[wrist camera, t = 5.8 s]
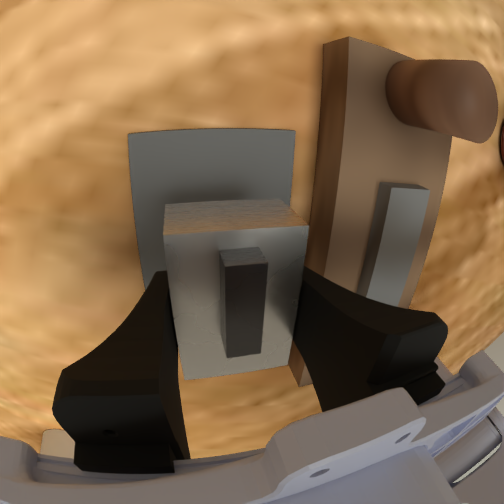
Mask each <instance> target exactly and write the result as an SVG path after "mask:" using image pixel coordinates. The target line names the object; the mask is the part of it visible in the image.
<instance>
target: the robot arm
mask: <svg viewBox="0 0 504 504" xmlns="http://www.w3.org/2000/svg"><path fill="white" fill-rule="evenodd" d="M447 334H448V326H447V325H446V324H445V322H444V321H443V320H442V319H441V318H440V317H439V316H438V315H437V314H435V313H434V312H425V311H418V310H411V309H406V308H401V307H396V306H392V305H388V304H385V303H382V302H379V301H375V300H372V299H369V298H367V297H364V296H362V295H359V294H357V293H354V292H352V291H350V290H348V289H346V288H344V287H342V286H340V285H338V284H336V283H334V282H332V281H330V280H328V279H326V278H325V277H323V276H321V275H319V274H318V273H316V272H314V271H313V270H311V269H309V268H307V267H306V266H304V268H303V275H302V282H301V289H300V295H299V302H298V308H297V314H296V320H295V326H294V332H293V338H292V339H293V341H294V343H295V345H296V347H297V349H298V350H299V352H300V354H301V356H302V358H303V360H304V362H305V364H306V367H307V369H308V372H309V375H310V377H311V380H312V382H313V385H314V388H315V391H316V394H317V396H318V399H319V402H320V406H321V409H322V413H318V414H315V415H311V416H308V417H306V418H303V419H301V420H298V421H295V422H292V423H290V424H289V425H287V426H286V427H284V428H282V429H281V430H279V431H277V432H276V433H275V434H274V435H273V437H272V438H271V439H270V441H269V442H268V444H267V445H266V448H262V449H257V450H252V451H246V452H241V453H235V454H229V455H222V456H215V457H207V458H198V459H191V458H190V453H189V448H188V442H187V437H186V431H185V425H184V419H183V413H182V406H181V399H180V391H179V383H178V342H177V336H176V330H175V324H174V318H173V311H172V305H171V298H170V290H169V283H168V275H167V270H165V271H156V272H155V273H154V275H153V277H152V279H151V281H150V283H149V285H148V287H147V289H146V290H145V292H144V294H143V295H142V297H141V298H140V300H139V302H138V303H137V304H136V306H135V307H134V309H133V310H132V311H131V313H130V314H129V315H128V317H127V318H126V319H125V320H124V322H123V323H122V324H121V325H120V326H119V327H118V328H117V329H116V330H115V331H114V332H113V333H112V334H111V335H110V336H109V337H108V338H107V339H106V340H105V341H104V342H103V343H101V344H100V345H99V346H98V347H96V348H95V349H94V350H93V351H91V352H90V353H88V354H87V355H86V356H84V357H83V358H81V359H80V360H78V361H76V362H75V363H73V364H71V365H70V366H68V367H67V368H65V369H63V370H62V372H61V375H60V378H59V380H58V384H57V387H56V392H55V396H54V401H53V406H52V411H53V415H54V417H55V419H56V420H57V422H58V423H59V424H60V425H61V427H62V428H63V429H64V430H65V431H66V432H67V433H68V435H69V436H70V437H71V438H72V439H73V440H74V441H75V448H74V459H73V458H65V457H57V456H51V455H44V454H39V453H37V452H36V451H35V450H34V449H33V448H32V447H31V446H30V445H29V444H27V443H25V442H23V441H20V440H16V439H12V438H7V437H3V436H0V504H462V503H468V504H504V417H503V416H502V414H501V413H500V412H499V411H498V409H497V408H496V407H495V406H496V405H497V403H499V401H500V400H501V399H502V398H503V396H504V373H503V372H502V371H501V369H500V368H499V367H498V366H497V365H496V364H495V363H494V362H493V361H492V360H491V359H490V358H489V356H488V355H487V354H486V353H485V352H484V351H483V350H481V351H479V352H478V353H476V354H475V355H473V356H471V357H470V358H469V359H467V360H466V362H465V363H464V364H463V365H462V367H461V369H460V370H459V373H457V374H455V375H454V376H453V375H452V373H451V372H450V371H449V370H448V369H447V368H446V366H445V365H444V364H443V363H442V362H441V361H440V359H439V358H438V357H437V355H438V353H439V352H440V350H441V348H442V346H443V344H444V342H445V340H446V338H447ZM496 427H497V428H496ZM498 430H499V431H500V432H499V431H498ZM500 433H501V434H502V435H501V434H500ZM501 442H502V443H501ZM500 443H501V445H500V447H499V449H498V450H497V451H496V452H495V453H494V454H493V455H492V456H491V457H490V458H488V459H487V460H486V461H485V462H484V463H482V464H481V465H480V466H479V467H478V468H476V469H475V470H474V471H473V472H471V473H470V474H469V475H468V476H466V477H465V478H464V479H462V480H461V481H459V482H456V483H453V482H454V481H455V480H457V479H458V478H459V477H461V476H462V475H463V474H465V473H466V472H467V471H468V470H470V469H471V468H472V467H473V466H475V465H476V464H477V463H478V462H480V461H481V460H482V459H483V458H484V457H485V456H487V455H488V454H489V453H490V452H491V451H492V450H493V449H494V448H496V446H498V445H499V444H500Z"/></svg>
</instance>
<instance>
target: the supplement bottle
mask: <svg viewBox="0 0 504 504" xmlns="http://www.w3.org/2000/svg"><path fill="white" fill-rule="evenodd" d="M501 155H502V159H503V162H504V126H503V129H502V134H501Z"/></svg>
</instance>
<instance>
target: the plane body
mask: <svg viewBox="0 0 504 504" xmlns="http://www.w3.org/2000/svg"><path fill="white" fill-rule="evenodd" d="M497 116H498V100H497V93H496V89H495V85H494V83H493V80H492V78H491V76H490V74H489V72H488V71H487V70H486V68H485V67H484V66H483V65H482V64H480V63H479V62H477V61H470V60H415V59H412V58H410V57H407V56H405V55H402V54H400V53H397V52H395V51H392V50H389V49H386V48H384V47H381V46H378V45H375V44H372V43H369V42H366V41H362V40H359V39H356V38H352V37H346V38H342V39H339V40H336V41H332V42H329V43H326V44H324V52H323V76H322V95H321V111H320V125H319V138H318V150H317V161H316V172H315V182H314V191H313V200H312V209H311V218H310V226H309V234H308V242H307V249H306V257H305V264H304V266H306V267H307V268H309V269H311V270H313V271H314V272H316V273H318V274H319V275H321V276H323V277H325V278H326V279H328V280H330V281H332V282H334V283H336V284H338V285H340V286H342V287H344V288H346V289H348V290H350V291H352V292H354V293H357V294H359V295H362V296H364V297H367V298H369V299H372V300H375V301H379V302H382V303H385V304H388V305H392V306H396V307H401V308H406V309H408V308H409V305H410V303H411V300H412V297H413V294H414V292H415V289H416V286H417V283H418V280H419V277H420V275H421V272H422V268H423V265H424V262H425V259H426V256H427V252H428V249H429V246H430V242H431V239H432V235H433V231H434V228H435V224H436V220H437V216H438V212H439V207H440V203H441V199H442V194H443V189H444V184H445V179H446V173H447V168H448V162H449V155H450V148H451V141H452V136H454V137H458V138H462V139H465V140H468V141H472V142H475V143H484V142H485V141H487V140H488V139H489V138H490V137H491V135H492V133H493V131H494V129H495V126H496V122H497ZM288 364H289V366H290V369H291V371H292V373H293V375H294V377H295V379H296V382H297V384H298V386H299V387H301V386H305V385H309V384H313V382H312V380H311V377H310V375H309V372H308V369H307V367H306V364H305V362H304V360H303V358H302V356H301V354H300V352H299V350H298V349H297V347H296V345H295V343H294V341H293V340H292V345H291V351H290V356H289V361H288Z"/></svg>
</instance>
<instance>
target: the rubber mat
mask: <svg viewBox="0 0 504 504" xmlns="http://www.w3.org/2000/svg"><path fill="white" fill-rule="evenodd" d="M295 132H296V131H294V130H279V129H250V128H212V129H183V130H166V131H152V132H141V133H131V134H128V144H129V163H130V177H131V190H132V200H133V210H134V219H135V227H136V235H137V242H138V249H139V256H140V262H141V269H142V275H143V280H144V286H145V290H146V289H147V287H148V285H149V283H150V281H151V279H152V277H153V275H154V273H155V272H156V271H165V270H167V267H166V258H165V249H164V239H163V230H164V215H165V204H176V203H191V202H207V201H225V200H247V199H276V198H280V199H281V200H282V201H283V202H284V203H285V204H287V205H288V206H289V207H290V198H291V186H292V174H293V161H294V147H295Z"/></svg>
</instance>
